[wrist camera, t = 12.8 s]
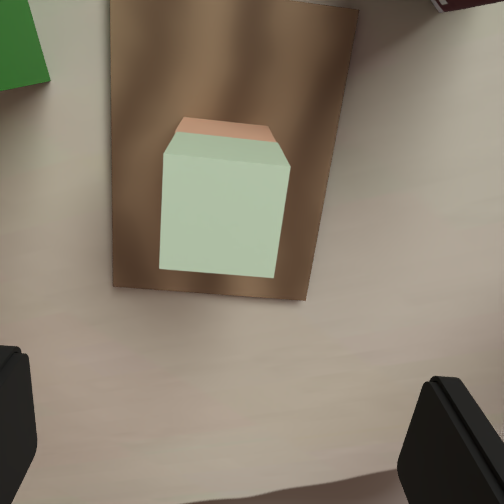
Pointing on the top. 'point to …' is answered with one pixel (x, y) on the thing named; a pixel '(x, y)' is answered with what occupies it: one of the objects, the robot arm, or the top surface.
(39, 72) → the hardback book
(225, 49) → the base board
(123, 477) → the top surface
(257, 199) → the sage block
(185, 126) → the terracotta block
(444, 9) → the supplement box
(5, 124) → the top surface
